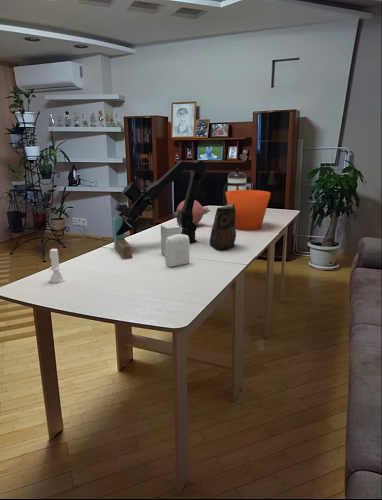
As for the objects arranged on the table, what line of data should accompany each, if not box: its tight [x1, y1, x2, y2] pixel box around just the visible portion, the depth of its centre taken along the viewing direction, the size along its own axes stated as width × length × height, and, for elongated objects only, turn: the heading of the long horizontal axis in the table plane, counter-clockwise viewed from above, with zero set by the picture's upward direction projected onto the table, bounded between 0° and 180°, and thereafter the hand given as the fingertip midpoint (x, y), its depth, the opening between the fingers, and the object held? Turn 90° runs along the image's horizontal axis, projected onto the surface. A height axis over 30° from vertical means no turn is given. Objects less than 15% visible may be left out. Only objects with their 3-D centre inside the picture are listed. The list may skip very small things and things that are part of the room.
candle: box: [48, 248, 66, 284], centre depth 136 cm, size 5×5×12 cm
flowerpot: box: [225, 189, 272, 232], centre depth 216 cm, size 25×25×20 cm
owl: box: [209, 204, 237, 252], centre depth 175 cm, size 13×13×20 cm
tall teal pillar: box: [112, 216, 125, 250], centre depth 175 cm, size 4×4×14 cm
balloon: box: [176, 199, 211, 226], centre depth 221 cm, size 15×20×15 cm
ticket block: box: [115, 238, 133, 260], centre depth 168 cm, size 4×14×5 cm, turn 22°
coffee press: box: [222, 168, 248, 206], centre depth 254 cm, size 17×16×30 cm
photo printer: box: [164, 234, 190, 268], centre depth 153 cm, size 10×4×12 cm, turn 123°
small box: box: [160, 223, 182, 256], centre depth 165 cm, size 8×6×13 cm
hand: (115, 234), depth 174 cm, fingers closed on tall teal pillar, 4 cm apart
